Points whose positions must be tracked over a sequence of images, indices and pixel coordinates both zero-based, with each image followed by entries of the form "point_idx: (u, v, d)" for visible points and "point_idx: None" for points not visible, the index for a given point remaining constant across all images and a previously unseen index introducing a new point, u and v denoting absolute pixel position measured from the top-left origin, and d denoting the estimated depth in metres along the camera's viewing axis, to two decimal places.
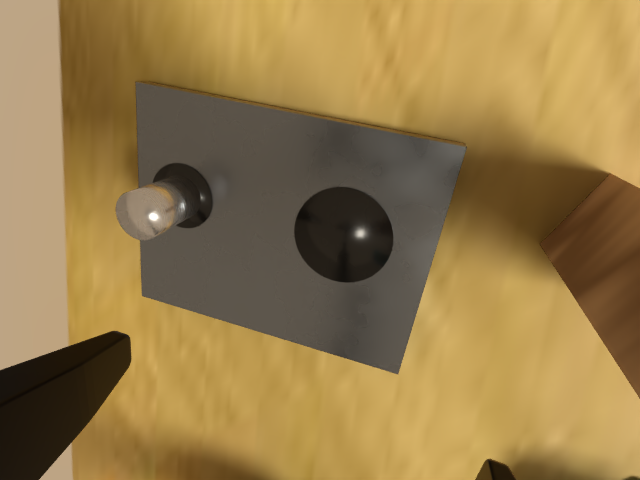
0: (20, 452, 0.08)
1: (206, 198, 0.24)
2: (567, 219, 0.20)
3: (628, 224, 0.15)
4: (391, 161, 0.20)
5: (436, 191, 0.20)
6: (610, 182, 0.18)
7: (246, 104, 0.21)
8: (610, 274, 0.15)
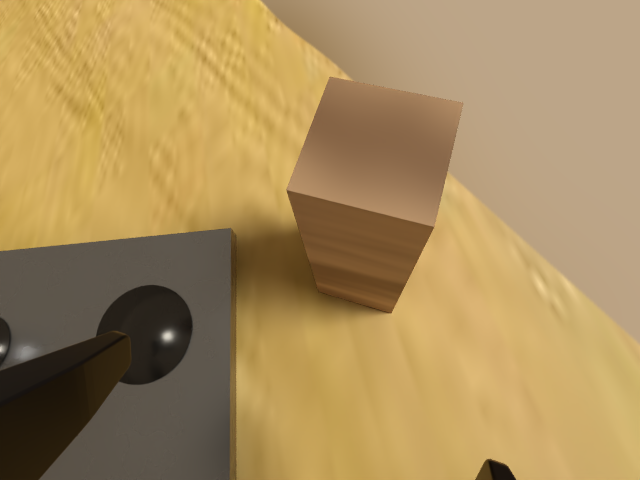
0: (20, 451, 0.08)
1: (3, 340, 0.23)
2: None
3: None
4: (178, 254, 0.24)
5: (217, 265, 0.24)
6: None
7: (54, 246, 0.25)
8: None
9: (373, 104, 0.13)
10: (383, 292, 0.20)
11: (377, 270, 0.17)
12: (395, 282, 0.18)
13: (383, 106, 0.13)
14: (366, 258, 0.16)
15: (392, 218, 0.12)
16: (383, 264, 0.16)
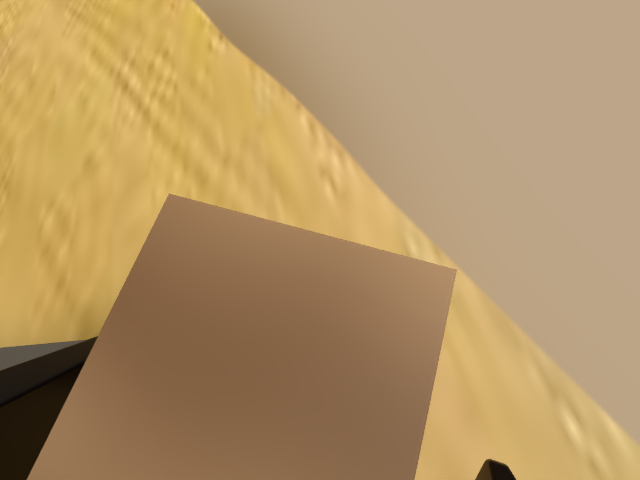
0: (19, 452, 0.08)
1: None
2: None
3: None
4: None
5: None
6: None
7: None
8: None
9: (253, 267, 0.06)
10: None
11: None
12: None
13: (274, 273, 0.06)
14: None
15: None
16: None
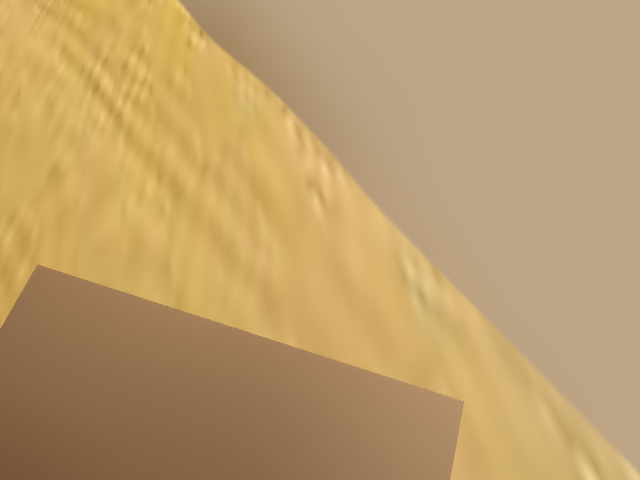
0: None
1: None
2: None
3: None
4: None
5: None
6: None
7: None
8: None
9: (149, 390, 0.04)
10: None
11: None
12: None
13: (179, 401, 0.04)
14: None
15: None
16: None
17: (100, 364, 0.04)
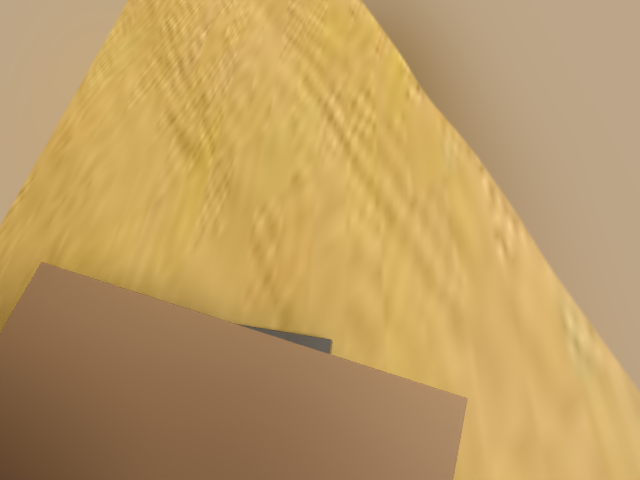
0: None
1: None
2: None
3: None
4: None
5: None
6: None
7: None
8: None
9: (153, 385, 0.04)
10: None
11: None
12: None
13: (183, 398, 0.04)
14: None
15: None
16: None
17: (104, 361, 0.04)
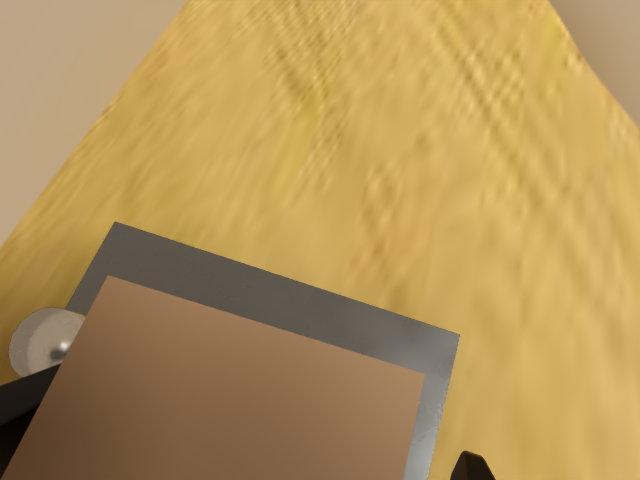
0: None
1: None
2: None
3: None
4: (379, 340, 0.18)
5: (429, 382, 0.17)
6: None
7: (228, 259, 0.20)
8: None
9: (195, 366, 0.05)
10: None
11: None
12: None
13: (218, 375, 0.05)
14: None
15: None
16: None
17: (159, 348, 0.05)
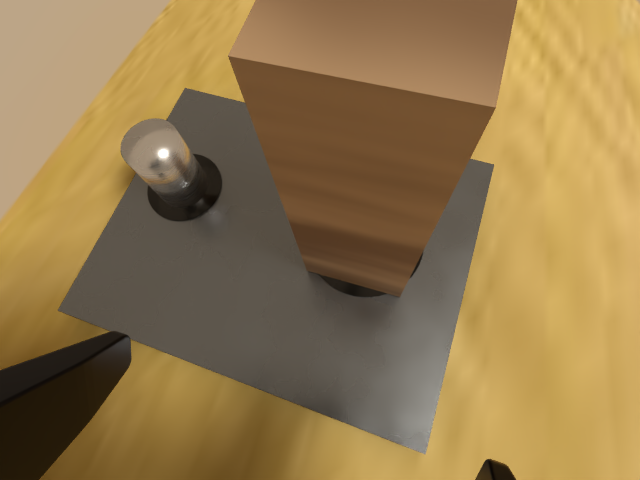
0: (20, 452, 0.08)
1: (213, 190, 0.21)
2: None
3: None
4: None
5: (468, 200, 0.20)
6: None
7: None
8: None
9: None
10: (391, 265, 0.14)
11: (384, 226, 0.11)
12: (409, 246, 0.12)
13: None
14: (368, 205, 0.11)
15: (416, 97, 0.06)
16: (393, 212, 0.10)
17: None
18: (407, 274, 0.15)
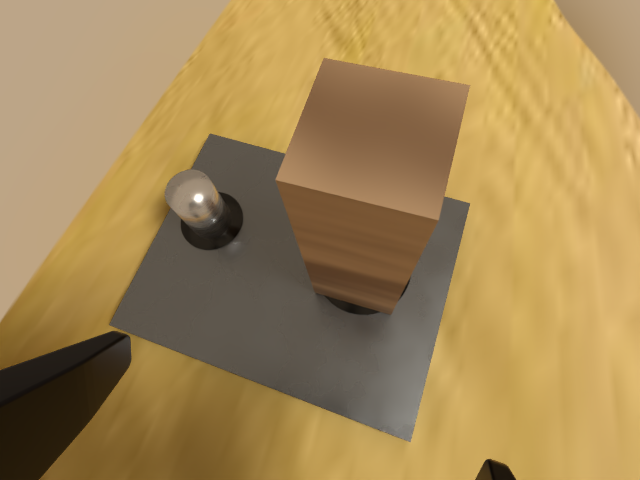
0: (20, 452, 0.08)
1: (236, 223, 0.25)
2: None
3: None
4: None
5: (448, 233, 0.24)
6: None
7: None
8: None
9: (371, 87, 0.12)
10: (382, 293, 0.19)
11: (376, 269, 0.16)
12: (395, 282, 0.16)
13: (382, 89, 0.12)
14: (364, 256, 0.15)
15: (392, 210, 0.11)
16: (382, 262, 0.15)
17: (353, 82, 0.12)
18: (395, 299, 0.19)
